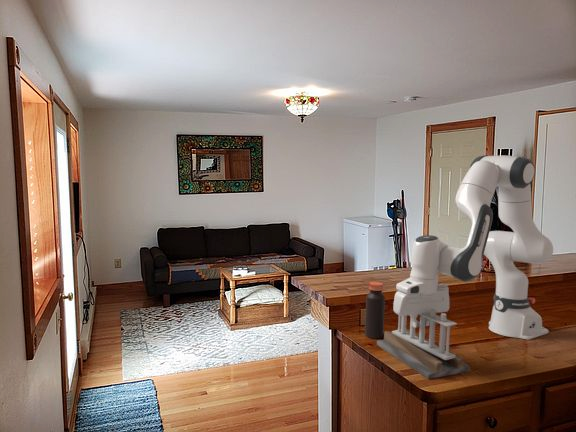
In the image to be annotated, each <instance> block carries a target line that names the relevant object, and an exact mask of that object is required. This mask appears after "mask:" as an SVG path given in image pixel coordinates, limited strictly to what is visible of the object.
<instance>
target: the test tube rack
mask: <svg viewBox="0 0 576 432" xmlns="http://www.w3.org/2000/svg"><path fill="white" fill-rule="evenodd" d="M392 304H393V305H394V302H392ZM417 316H419V322H420V324H419V332H418V334H419V337H417V336H415V333H416V327H413V326H412V323H413V321H412V319H411V318H410V323H409V329H410V333H408V332H406V329H407V321H408V320H407V317H408V315H407V316H399V315H398V320H397V321H398V326H397V327H398V328H397V329H395V330H392V331H391V332H392V334H394V335H396V336H398V337H400V338H402V339H404V340H406V341H408V342H410V343H412V344H414V345H416V346H418V347H420V348H422V349H424V350H426V351H428V352H430V353H432V354H434V355H436V356H438V357H440V358H442V359H444V360H449V359H452V358H456V355H457V354H456V355H454V354H455V353H454V354H452V353H453V352H452V353H450V352H451V351H450V337H451V336H450V334H451V333H450V332H451V327H452V326H456V325H458V323H457V322H454V321H452V320H450V319H448V318H447V317H448V316H447V313H446V312H440V315H438V314H437V313H436V310H435V309H431V311H430V313H426V314H418V315H417ZM425 318H427V319H430V321H429V330H428V331H429V333H428V335H429V336H428V340H429V342H427V341H425V340H424V339H425V338H426V337H425V336H426V326H425ZM436 323H438V324H440V325H439V342H438V345H439V347H437V346H435V345H434V343H435V344H436V339H435V338H436ZM445 349H446V350H445ZM449 351H450V352H449Z"/></svg>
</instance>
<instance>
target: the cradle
mask: <svg viewBox="0 0 576 432" xmlns="http://www.w3.org/2000/svg"><path fill="white" fill-rule="evenodd" d="M406 332H408V333H410V328H407V327H406ZM415 336H417V337H419V333H417V332H415ZM424 340H425V341H427V342H429V338H426V337H425V339H424ZM434 345H435V346H437V347H439V344H437V343H436V342H435V343H434ZM376 346H378V347H380V348H381V349H382V350H384V351H385V352H387V353H389V354H390V355H392V356H393V357H394V358H395V359H398V360H399V361H401V362H402V363H404V365H406V366H407V367H409V368H411V369H412V370H414V371H416V372H417V373H418V374H420V375H422V376H423V377H424V378H426V379H427V380H430V379H436V378H440V377H446V376H451V375H457V374H463V373H468V372H470V371H471V366H470V365H468V364H467V363H465V362H464V358H463V357H461V356H459V355H457V354H455V353H454V352H452V351H450V350H449V352H450V353H452V354H454V355H456V358H452V359H449V360H444V359H442V358H440V357H438V356H436V355H434V354H432V353H430V352H428V351H426V350H424V349H422V348H420V347H418V346H416V345H414V344H412V343H410V342H408V341H406V340H404V339H402V338H400V337H398V336H396V335H394V334H392V331H390V330H387V331H386V330H385V331H384V333H383V339H379V340H376ZM445 350H446V348H445Z"/></svg>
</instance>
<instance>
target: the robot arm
mask: <svg viewBox="0 0 576 432" xmlns="http://www.w3.org/2000/svg"><path fill="white" fill-rule="evenodd" d="M535 174H536V168H535V164H534V162H533V161H532V160H531V159H529V158H527V157H522V156H515V155H505V154H504V155H503V154H502V155H487V154H486V155H484V154H483V155H479V156H477V157H475V158H474V160H473V161H471V164H470V166H469V169H468V171H467V172H466V174H465V175H464V177H463V179H462V181H461V183H460V185H459V187H458V189H457V191H456V195H455V200H454V201H455V205H456V206H457V209H458V211H460V212H461V213H462V214H463V215H465V216H466V217H467V218H469V219H470V220H471V227H470V231H469V235H468V238H467V241H466V244H465V246H464V247H462V248H460V247H456V246H452V245H449V244H447V243H445V242H442V241H441V240H440V239H439V237H438V236H436V235H431V234H430V235H420V236H418V237H416V238H415V239H414V241H413V244H412V248H411V258H410V263H411V271H410V274H409V277H408V278H406V279H404V280H402V281H400V282H398V283H396V286H395V288H396V290H397V291H396V292H395V294H394V300H393V303H394V304H393V312H394V314H396V315H398V317H399V316H401V317H402V316H407V317H408V316H409V317H410V319H412V321H413V323H412V326H413V327H415V328H420V321H418V320H417V318H418V316H419V315H418V314H426V313H430V311H431V309H435V310H436V314H437V313H447V312H448V311H449V309H450V295H449V286H448V285H447V284H446V283H439V274H442V275H445V276H449V277H452V278H454V279H457V280H459V281H461V282H464V283H468V282H471V281H473V280H475V279H476V278H477V277H478V276H479V275H480V273H481V272H482V270H483V269H482V268H483V262H484V260H483V259H484V256H485V257H486V258H487V259H488V260H489V262H490V263H491V264H492V267H493V270H494V272H495V292H494V295H493V306H492V311H491V316H490V320H489V321H488V329H489V331H491V332H492V333H495V334H497V335H499V336H505V337H508V338H509V337H510V338H518V339H524V340H532V339H535V338H537V337H541V336H543V335H546V334H549V333H550V331H549V329H548V328H545V327H544V326H543V319H542V317H541V315H540V314H539V313H538V312H537V311H536V310H534V309H533V308H532V307H531V304H532V305H533V304H535V303H536V299H535V298H534V297H528V289H529V279H528V277H527V275H526V274H525V272H523V271H522V270H520V269H518V268H517V267H516V265H515V264H514V262H520V263H525V264H526V263H527V264H545V263H547V262H548V261H549V260H550V259H551V258H552V257H553V254H554V245H553V242H552V240H550V238H549V237H547V236H546V235H545V234H543V233H542V232H541V231H540V229H538V227H537V226H536V224H535V221H534V218H533V209H532V208H533V207H532V188H531V183H532V182H533V181H534V178H535ZM497 188H498V195H497V199H498V200H497V201H498V202H497V203H498V205H497V207H498V209H497V210H498V218H499V219H500V221H501V223H503V224H504V225H506V226H507V227H509V228H510V229H511V230H512V231H504V230H491V227H492V224H493V219H494V218H493V217H494V212H493V209H492V208H491V201H492V198H493V196H494V194H495V192H496V189H497ZM425 327H430V319H427V318H425Z"/></svg>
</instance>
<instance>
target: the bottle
mask: <svg viewBox="0 0 576 432" xmlns="http://www.w3.org/2000/svg"><path fill="white" fill-rule="evenodd" d="M368 288H369V293H368V294H366V298H365V299H366V301H365V320H364V321H365V324H364V328H365V329H364V335H365V336H366V337H367V338H370V339H373V340H375V339H382V338H384V332H385V331H384V330H385V329H384V328H385V306H386V297H385V295H384V294H383V291H384V283H383V282H379V281H371V282H369V286H368Z"/></svg>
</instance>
